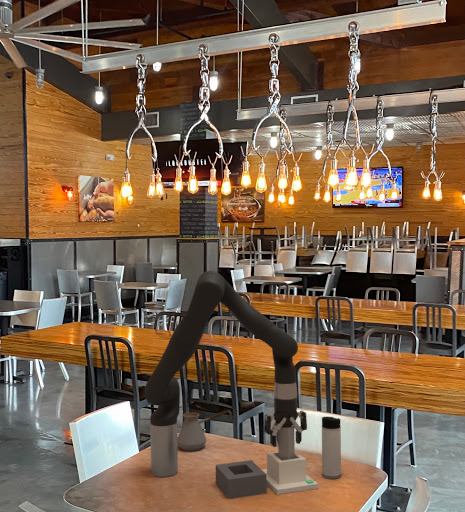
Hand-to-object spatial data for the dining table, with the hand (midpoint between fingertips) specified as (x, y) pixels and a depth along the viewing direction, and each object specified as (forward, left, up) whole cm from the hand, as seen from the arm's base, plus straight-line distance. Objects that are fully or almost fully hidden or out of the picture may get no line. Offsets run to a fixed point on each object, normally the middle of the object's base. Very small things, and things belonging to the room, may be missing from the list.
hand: (286, 444), depth 203 cm
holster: (0, -16, -12) cm, 20 cm away
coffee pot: (-42, -16, -12) cm, 47 cm away
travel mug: (+1, +16, -12) cm, 20 cm away
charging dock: (0, 0, -12) cm, 12 cm away
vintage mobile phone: (0, 0, -11) cm, 11 cm away
